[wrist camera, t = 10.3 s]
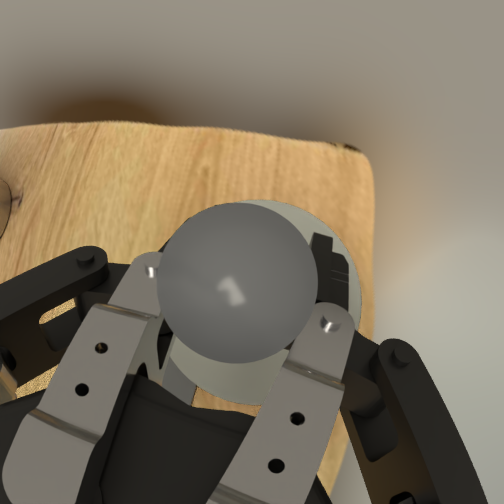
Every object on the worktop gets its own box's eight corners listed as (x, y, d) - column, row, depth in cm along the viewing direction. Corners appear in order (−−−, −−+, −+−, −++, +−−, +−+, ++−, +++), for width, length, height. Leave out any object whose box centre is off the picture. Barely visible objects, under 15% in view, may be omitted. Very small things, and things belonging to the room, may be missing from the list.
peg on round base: (139, 361, 15) (1, 398, 5) (197, 186, 17) (125, 58, 7) (322, 420, 14) (381, 538, 4) (374, 236, 16) (482, 143, 6)
